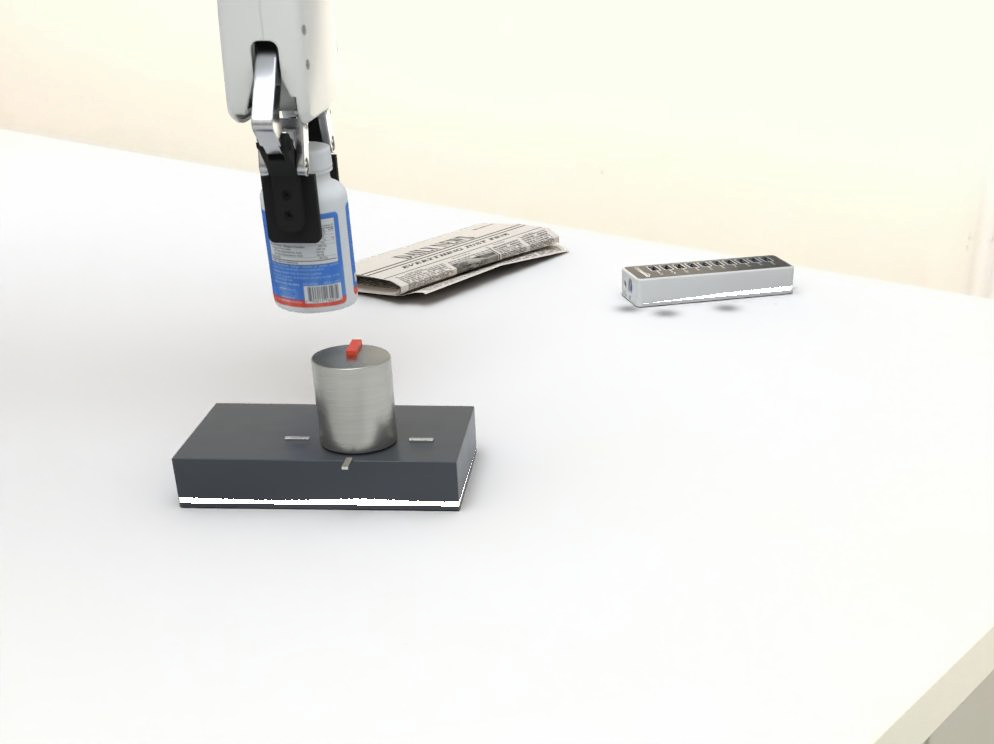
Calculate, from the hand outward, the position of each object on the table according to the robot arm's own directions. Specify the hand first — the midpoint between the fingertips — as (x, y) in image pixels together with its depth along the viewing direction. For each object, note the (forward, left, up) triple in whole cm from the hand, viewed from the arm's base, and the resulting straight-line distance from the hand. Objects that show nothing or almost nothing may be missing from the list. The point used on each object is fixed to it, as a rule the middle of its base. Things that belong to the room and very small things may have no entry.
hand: (307, 226), depth 84 cm
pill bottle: (0, 0, -5) cm, 5 cm away
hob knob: (+5, -13, -9) cm, 17 cm away
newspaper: (+4, +36, -12) cm, 38 cm away
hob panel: (+3, -12, -12) cm, 17 cm away
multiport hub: (+27, +29, -12) cm, 41 cm away
